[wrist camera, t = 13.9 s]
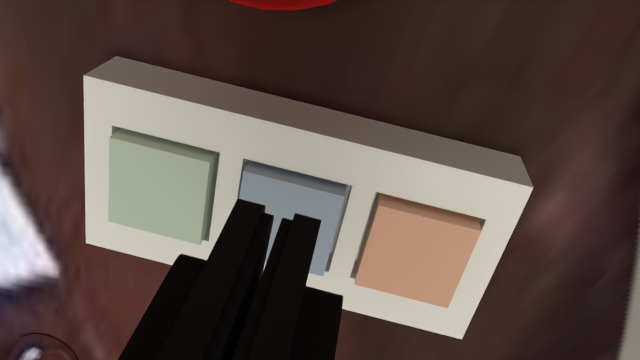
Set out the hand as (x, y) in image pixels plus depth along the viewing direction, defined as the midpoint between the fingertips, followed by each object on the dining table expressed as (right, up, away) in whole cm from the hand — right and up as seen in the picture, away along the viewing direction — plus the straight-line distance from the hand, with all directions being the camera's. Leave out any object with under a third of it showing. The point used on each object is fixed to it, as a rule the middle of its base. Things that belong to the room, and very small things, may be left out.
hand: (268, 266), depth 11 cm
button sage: (-9, +2, +24) cm, 25 cm away
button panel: (0, +1, +26) cm, 26 cm away
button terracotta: (+7, -2, +24) cm, 25 cm away
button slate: (-1, 0, +24) cm, 24 cm away
